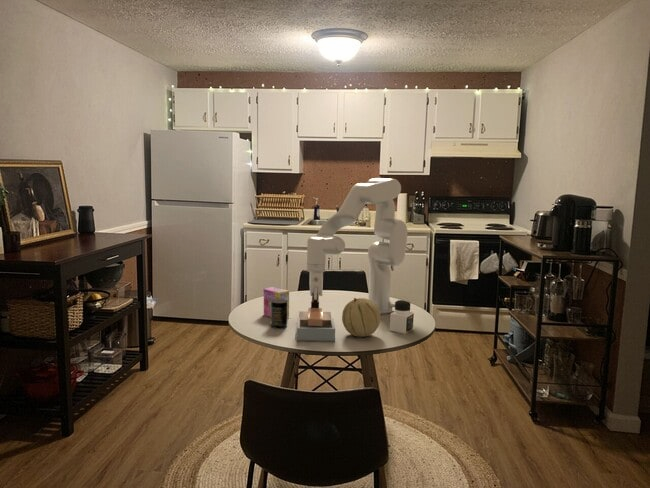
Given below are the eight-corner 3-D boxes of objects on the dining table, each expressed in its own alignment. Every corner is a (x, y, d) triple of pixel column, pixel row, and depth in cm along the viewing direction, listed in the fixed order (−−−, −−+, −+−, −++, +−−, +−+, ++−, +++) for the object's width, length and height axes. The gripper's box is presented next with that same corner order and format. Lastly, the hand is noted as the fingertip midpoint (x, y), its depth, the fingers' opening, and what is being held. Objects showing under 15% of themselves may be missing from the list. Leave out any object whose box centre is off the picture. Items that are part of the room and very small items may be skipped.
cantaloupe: (387, 338, 187) (389, 299, 185) (356, 344, 179) (358, 304, 177) (364, 327, 200) (365, 291, 198) (333, 333, 192) (334, 295, 190)
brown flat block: (330, 321, 207) (330, 311, 207) (331, 330, 196) (331, 320, 195) (299, 320, 207) (299, 311, 206) (298, 329, 195) (298, 319, 194)
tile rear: (321, 315, 202) (322, 308, 201) (322, 319, 196) (322, 311, 196) (308, 314, 201) (308, 307, 201) (308, 318, 196) (308, 311, 196)
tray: (332, 330, 195) (333, 317, 195) (334, 342, 181) (335, 328, 181) (297, 329, 195) (297, 317, 194) (296, 341, 181) (296, 328, 180)
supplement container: (288, 328, 196) (289, 302, 195) (271, 329, 195) (271, 303, 193) (285, 323, 203) (286, 298, 201) (269, 324, 201) (269, 299, 200)
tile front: (322, 318, 196) (322, 311, 195) (322, 326, 191) (322, 319, 190) (308, 317, 196) (308, 311, 195) (308, 325, 191) (308, 319, 190)
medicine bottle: (406, 334, 193) (407, 304, 191) (389, 330, 197) (390, 301, 195) (413, 329, 199) (414, 300, 197) (396, 326, 203) (398, 298, 201)
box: (263, 315, 214) (263, 288, 212) (273, 312, 218) (273, 286, 216) (279, 320, 207) (279, 292, 205) (289, 317, 211) (289, 290, 209)
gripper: (325, 271, 193) (324, 316, 196) (324, 264, 208) (323, 306, 211) (306, 270, 193) (305, 316, 196) (306, 263, 208) (305, 306, 210)
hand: (314, 311), depth 203 cm, fingers closed
